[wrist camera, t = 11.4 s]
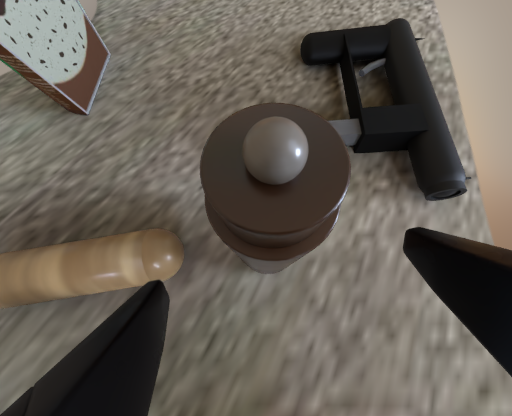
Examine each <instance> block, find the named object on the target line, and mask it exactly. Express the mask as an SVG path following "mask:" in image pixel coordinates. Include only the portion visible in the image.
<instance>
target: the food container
mask: <svg viewBox="0 0 512 416" xmlns="http://www.w3.org/2000/svg"><path fill="white" fill-rule="evenodd" d="M110 55H111V54H110V52H109V50H108V49H107V47H106V45H105V44H104V42H103V41H102V39H101V37H100V36H99V34H98V32H97V31H96V29H95V27H94V26H93V24H92V22H91V21H90V19H89V17H88V16H87V14H86V12H85V11H84V9H83V7H82V6H81V5H80V3H79V1H78V0H0V60H1V61H2V62H3V63H5V64H6V65H7V66H9V67H10V68H12V69H13V70H14V71H15V72H17V73H18V74H19V75H21V76H22V77H23V78H25V79H26V80H27V81H29V82H30V83H32V84H33V85H34V86H36V87H37V88H38V89H40V90H41V91H42V92H44V93H45V94H46V95H48V96H49V97H50V98H52V99H53V100H54V101H56V102H57V103H58V104H60V105H61V106H63V107H64V108H65V109H67V110H68V111H70V112H73V113H76V114H81V115H88V114H89V111H90V109H91V106H92V103H93V101H94V98H95V95H96V93H97V90H98V87H99V85H100V82H101V79H102V77H103V74H104V71H105V69H106V66H107V63H108V61H109V58H110Z"/></svg>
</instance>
